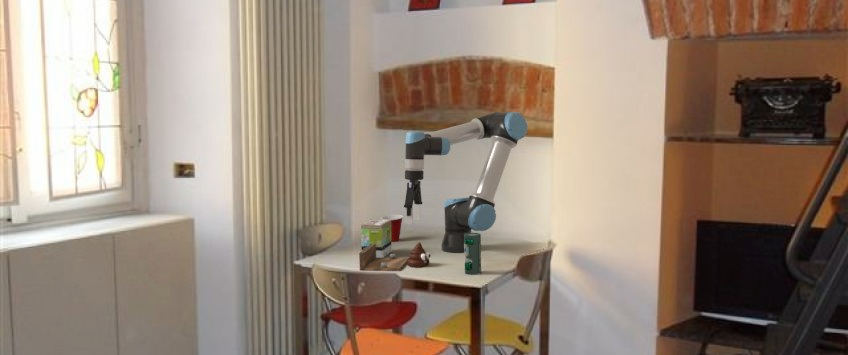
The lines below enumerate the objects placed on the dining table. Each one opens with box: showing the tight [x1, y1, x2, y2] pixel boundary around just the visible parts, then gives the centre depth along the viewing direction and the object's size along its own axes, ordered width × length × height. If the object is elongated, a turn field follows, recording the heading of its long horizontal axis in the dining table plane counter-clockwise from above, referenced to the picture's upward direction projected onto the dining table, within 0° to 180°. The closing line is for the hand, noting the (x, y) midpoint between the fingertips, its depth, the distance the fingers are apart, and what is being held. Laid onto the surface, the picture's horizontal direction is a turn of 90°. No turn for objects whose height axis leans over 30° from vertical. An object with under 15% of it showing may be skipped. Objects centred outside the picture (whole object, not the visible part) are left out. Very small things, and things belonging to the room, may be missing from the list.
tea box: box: [360, 219, 393, 258], centre depth 323 cm, size 15×10×15 cm, turn 168°
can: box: [463, 232, 482, 275], centre depth 285 cm, size 6×6×15 cm
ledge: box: [358, 243, 409, 272], centre depth 303 cm, size 16×20×7 cm
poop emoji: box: [407, 242, 431, 268], centre depth 301 cm, size 10×8×9 cm
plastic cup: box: [380, 214, 404, 243], centre depth 356 cm, size 11×11×12 cm
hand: (412, 222), depth 302 cm, fingers open, 13 cm apart
